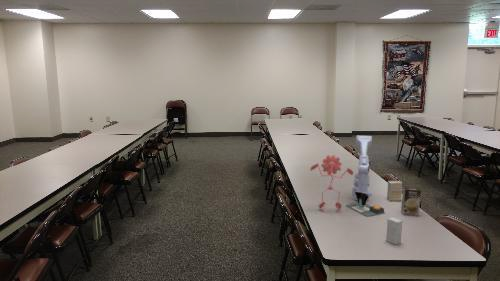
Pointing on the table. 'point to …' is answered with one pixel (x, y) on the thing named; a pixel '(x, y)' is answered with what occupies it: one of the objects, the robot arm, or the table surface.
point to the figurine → (331, 167)
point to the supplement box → (394, 191)
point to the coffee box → (410, 201)
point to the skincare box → (394, 230)
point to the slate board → (366, 210)
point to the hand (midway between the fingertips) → (361, 204)
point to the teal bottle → (360, 202)
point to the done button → (376, 207)
